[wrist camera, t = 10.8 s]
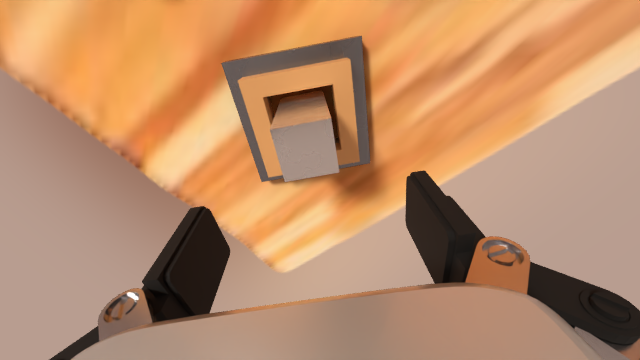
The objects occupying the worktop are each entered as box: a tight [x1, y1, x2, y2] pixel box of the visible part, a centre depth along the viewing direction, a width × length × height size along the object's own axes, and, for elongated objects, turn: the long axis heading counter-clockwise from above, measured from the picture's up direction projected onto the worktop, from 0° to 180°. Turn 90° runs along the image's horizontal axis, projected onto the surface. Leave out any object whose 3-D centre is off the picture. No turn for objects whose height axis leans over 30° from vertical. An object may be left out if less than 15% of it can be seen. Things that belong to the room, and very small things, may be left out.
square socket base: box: [222, 36, 370, 182], centre depth 25 cm, size 13×13×4 cm
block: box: [270, 90, 339, 182], centre depth 23 cm, size 4×4×10 cm
